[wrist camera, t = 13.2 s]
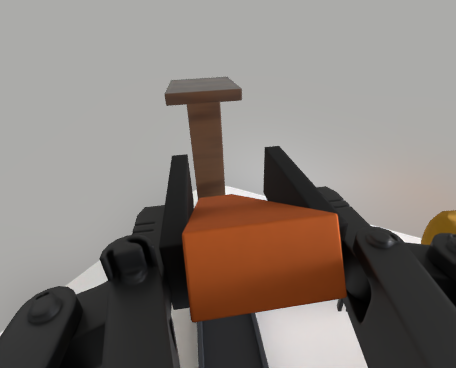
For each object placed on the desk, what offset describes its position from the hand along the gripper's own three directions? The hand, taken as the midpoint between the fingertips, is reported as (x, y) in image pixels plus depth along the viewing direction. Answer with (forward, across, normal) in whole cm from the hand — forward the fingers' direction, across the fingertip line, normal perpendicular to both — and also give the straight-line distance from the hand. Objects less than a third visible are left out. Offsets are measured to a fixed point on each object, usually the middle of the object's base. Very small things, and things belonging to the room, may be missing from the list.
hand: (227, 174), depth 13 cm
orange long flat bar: (+2, 0, -6) cm, 6 cm away
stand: (+30, 0, -30) cm, 42 cm away
